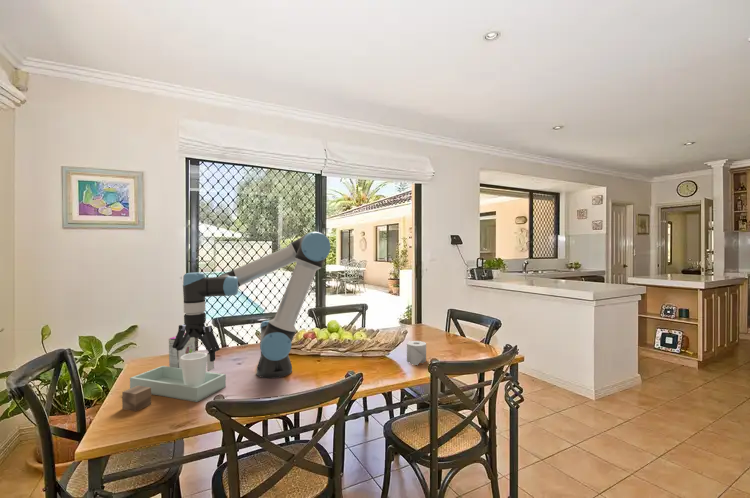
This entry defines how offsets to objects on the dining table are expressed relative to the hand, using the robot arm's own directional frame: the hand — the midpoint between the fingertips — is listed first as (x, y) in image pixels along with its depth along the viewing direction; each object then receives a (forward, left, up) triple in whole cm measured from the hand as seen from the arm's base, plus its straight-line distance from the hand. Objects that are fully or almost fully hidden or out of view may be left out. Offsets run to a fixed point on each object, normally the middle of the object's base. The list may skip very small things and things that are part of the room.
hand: (196, 368), depth 144 cm
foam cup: (+1, 0, -8) cm, 9 cm away
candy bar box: (+21, -15, -9) cm, 28 cm away
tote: (+8, 0, -9) cm, 12 cm away
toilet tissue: (-73, -63, -9) cm, 97 cm away
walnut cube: (+9, +17, -9) cm, 22 cm away
